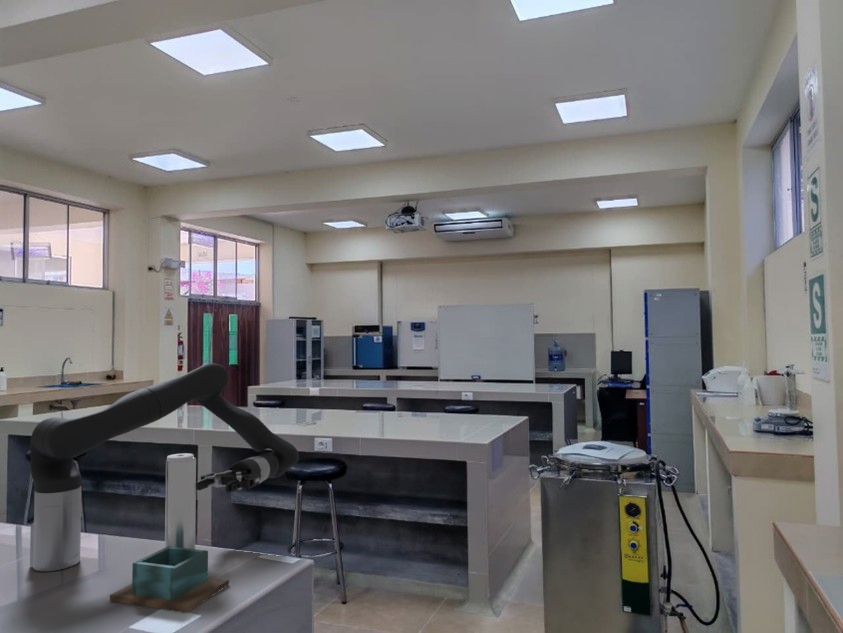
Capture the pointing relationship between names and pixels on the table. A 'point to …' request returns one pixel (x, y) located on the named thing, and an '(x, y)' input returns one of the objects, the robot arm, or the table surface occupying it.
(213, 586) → the cup stand
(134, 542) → the table surface
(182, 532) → the silver metal cylinder
